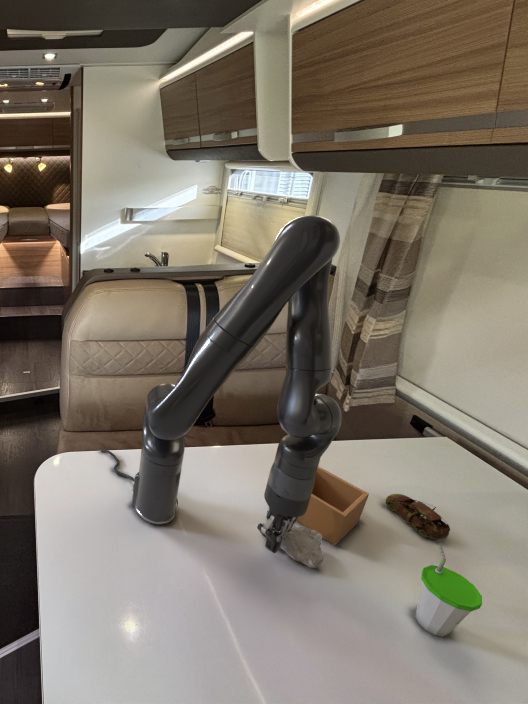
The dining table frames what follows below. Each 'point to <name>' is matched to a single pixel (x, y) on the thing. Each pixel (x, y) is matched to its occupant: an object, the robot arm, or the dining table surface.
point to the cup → (445, 599)
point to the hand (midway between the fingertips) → (271, 548)
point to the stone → (303, 546)
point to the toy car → (419, 516)
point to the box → (333, 506)
